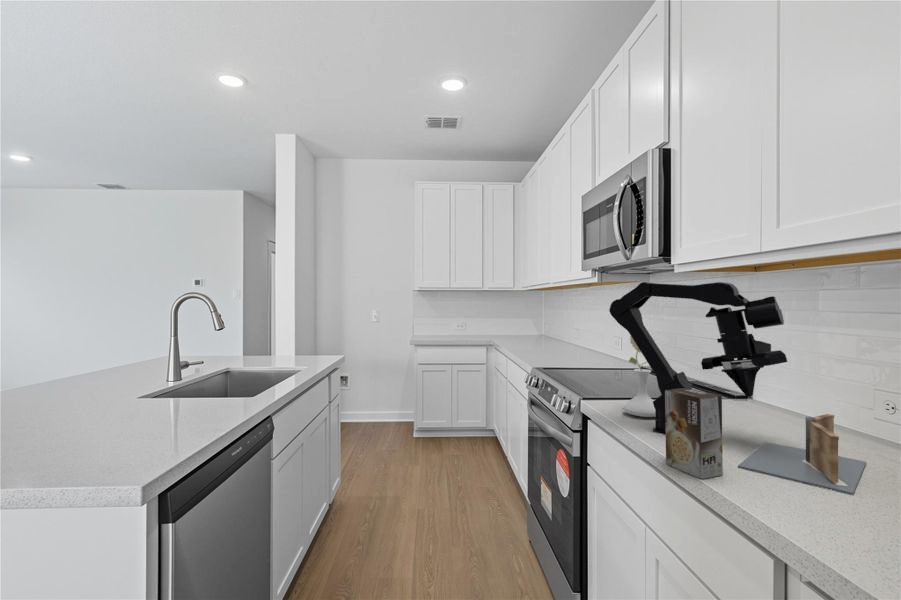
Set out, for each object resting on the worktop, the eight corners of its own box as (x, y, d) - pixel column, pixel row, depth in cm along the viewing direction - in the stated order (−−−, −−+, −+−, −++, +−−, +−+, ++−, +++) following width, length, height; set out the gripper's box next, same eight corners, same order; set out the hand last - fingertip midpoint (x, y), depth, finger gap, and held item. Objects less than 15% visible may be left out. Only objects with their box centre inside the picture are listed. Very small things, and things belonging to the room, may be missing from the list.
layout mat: (737, 467, 93) (737, 465, 93) (765, 443, 108) (765, 441, 108) (853, 495, 80) (853, 492, 80) (866, 463, 95) (866, 461, 95)
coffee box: (724, 475, 89) (724, 395, 89) (701, 480, 87) (701, 398, 87) (685, 460, 97) (685, 387, 97) (663, 463, 95) (663, 389, 95)
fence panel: (809, 462, 94) (809, 421, 94) (816, 462, 93) (816, 422, 93) (831, 481, 84) (830, 436, 84) (838, 482, 83) (838, 436, 83)
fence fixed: (804, 463, 95) (804, 417, 95) (826, 456, 100) (826, 411, 100) (813, 466, 94) (813, 418, 94) (835, 458, 98) (835, 413, 98)
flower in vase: (671, 419, 130) (670, 335, 130) (633, 420, 129) (633, 335, 129) (648, 409, 143) (648, 331, 143) (614, 409, 142) (613, 332, 142)
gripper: (795, 322, 102) (814, 391, 99) (726, 333, 119) (740, 391, 117) (758, 328, 99) (777, 399, 96) (693, 338, 116) (708, 398, 114)
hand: (749, 396), depth 106 cm, fingers closed
